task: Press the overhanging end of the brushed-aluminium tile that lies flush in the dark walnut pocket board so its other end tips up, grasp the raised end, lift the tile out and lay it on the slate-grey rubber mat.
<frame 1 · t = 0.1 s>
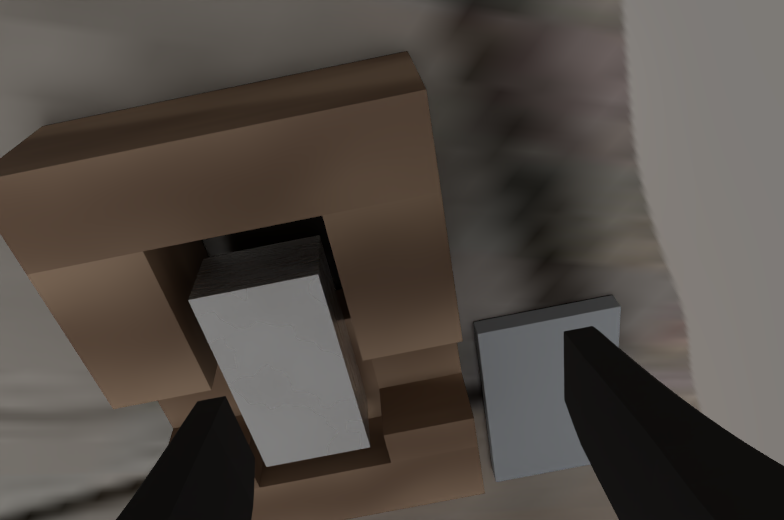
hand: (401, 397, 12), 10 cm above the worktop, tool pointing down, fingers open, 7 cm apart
pocket board: (294, 298, 23), on the worktop
aluminium tile: (293, 336, 21), point 2 cm above the worktop, touching pocket board
slate mat: (546, 390, 27), on the worktop
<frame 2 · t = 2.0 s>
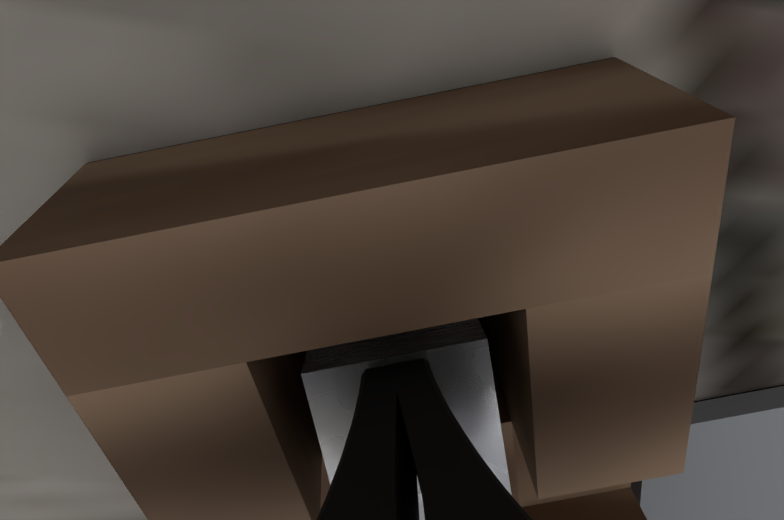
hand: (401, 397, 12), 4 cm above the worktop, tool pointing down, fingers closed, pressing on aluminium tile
pocket board: (408, 386, 17), on the worktop
aluminium tile: (418, 448, 15), point 2 cm above the worktop, tilted 15°, touching gripper, pocket board
slate mat: (708, 492, 21), on the worktop
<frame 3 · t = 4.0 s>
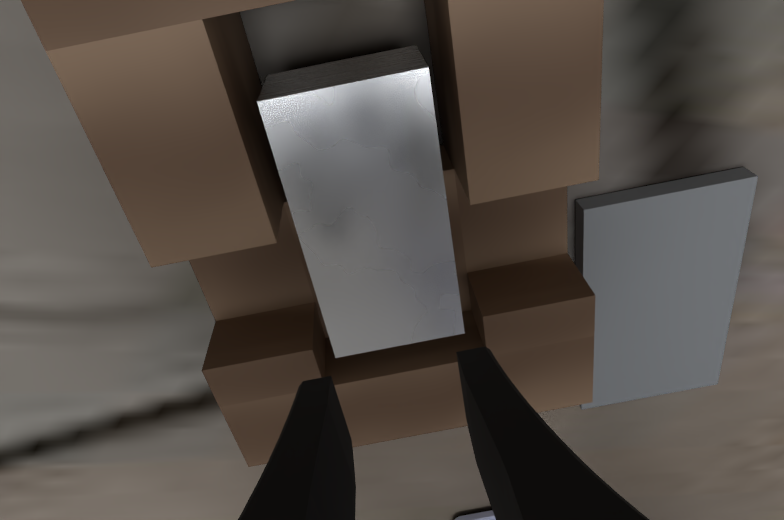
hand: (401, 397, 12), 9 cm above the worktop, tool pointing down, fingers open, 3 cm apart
pocket board: (365, 160, 19), on the worktop
aluminium tile: (370, 194, 17), point 2 cm above the worktop, touching pocket board
slate mat: (649, 295, 23), on the worktop
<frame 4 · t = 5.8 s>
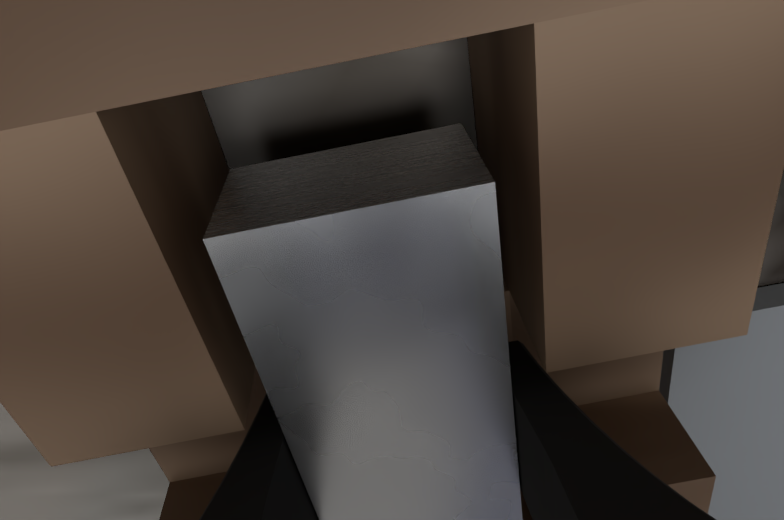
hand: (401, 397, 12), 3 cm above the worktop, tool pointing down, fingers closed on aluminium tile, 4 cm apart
pocket board: (377, 262, 13), on the worktop
aluminium tile: (386, 325, 12), point 2 cm above the worktop, touching gripper, pocket board
slate mat: (745, 414, 17), on the worktop
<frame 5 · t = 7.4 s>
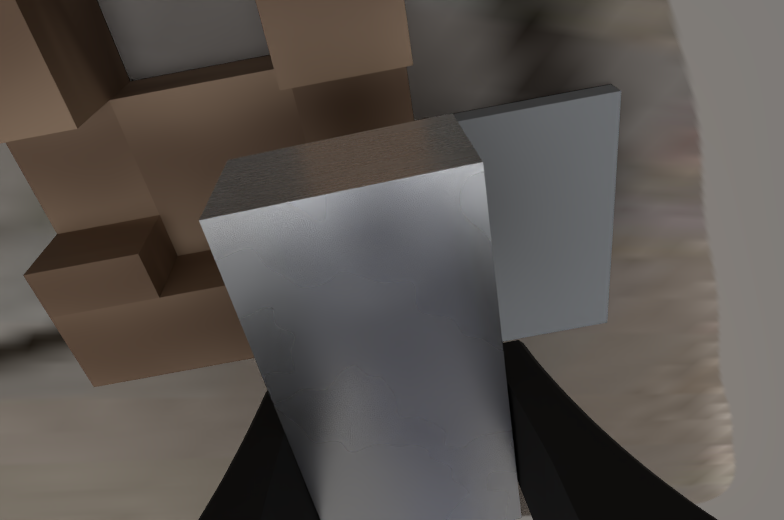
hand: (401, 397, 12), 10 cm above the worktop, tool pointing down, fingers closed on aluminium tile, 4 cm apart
pocket board: (210, 66, 18), on the worktop
aluminium tile: (383, 317, 12), point 9 cm above the worktop, touching gripper
slate mat: (528, 225, 22), on the worktop
when the fingers open (5 cm above the worktop, at t = 9.2 s): aluminium tile drops 4 cm, resting on slate mat.
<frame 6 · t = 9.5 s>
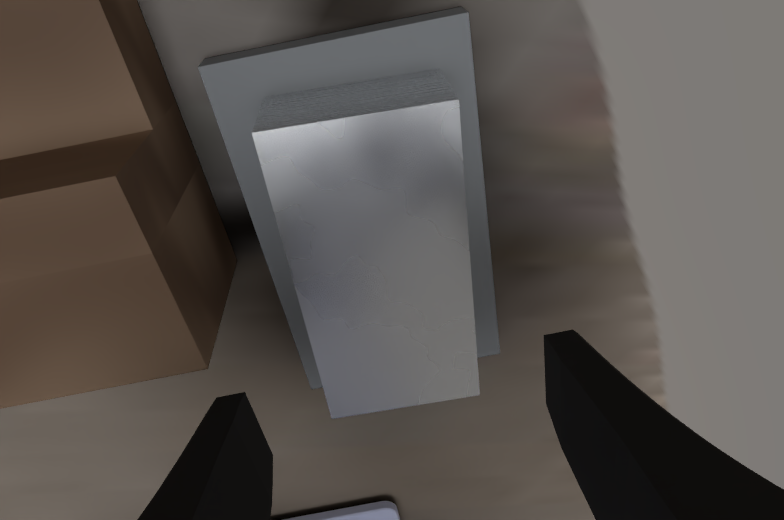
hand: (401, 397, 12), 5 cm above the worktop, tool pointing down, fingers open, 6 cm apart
aluminium tile: (377, 234, 15), point 1 cm above the worktop, touching slate mat
slate mat: (373, 221, 16), on the worktop
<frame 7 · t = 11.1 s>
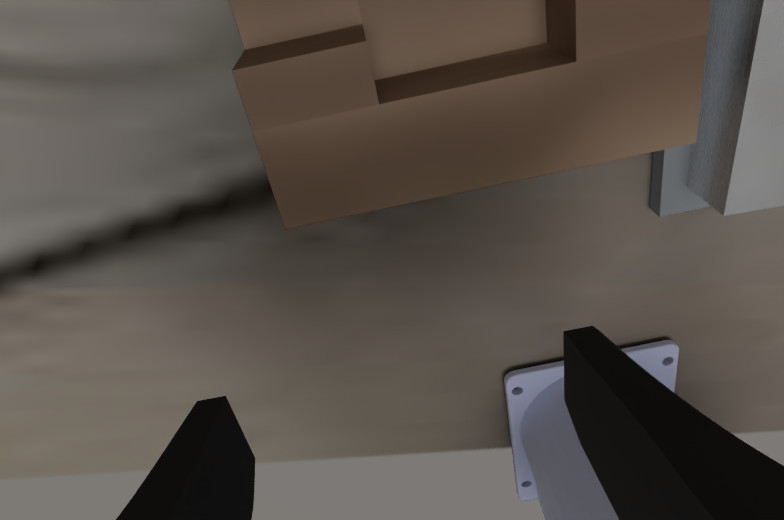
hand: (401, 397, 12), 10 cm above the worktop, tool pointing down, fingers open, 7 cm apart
aluminium tile: (761, 66, 19), point 1 cm above the worktop, touching slate mat
slate mat: (744, 62, 19), on the worktop
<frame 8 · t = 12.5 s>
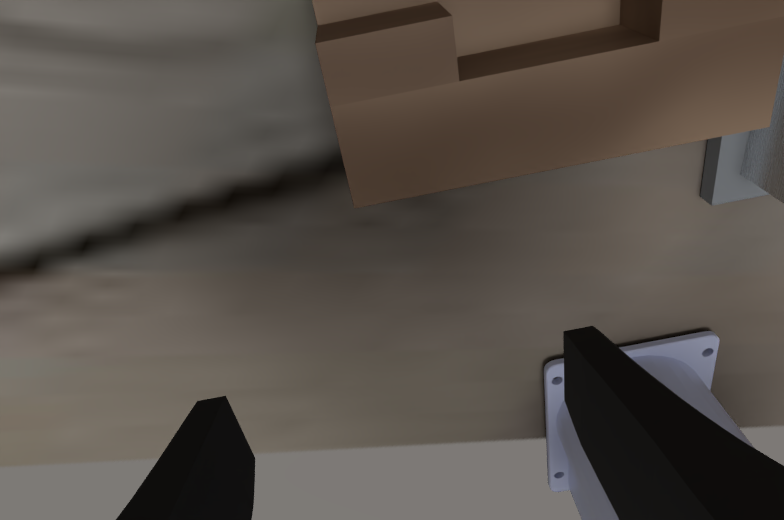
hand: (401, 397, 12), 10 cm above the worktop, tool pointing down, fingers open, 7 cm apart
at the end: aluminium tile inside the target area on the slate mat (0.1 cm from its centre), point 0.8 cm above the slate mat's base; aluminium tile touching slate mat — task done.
